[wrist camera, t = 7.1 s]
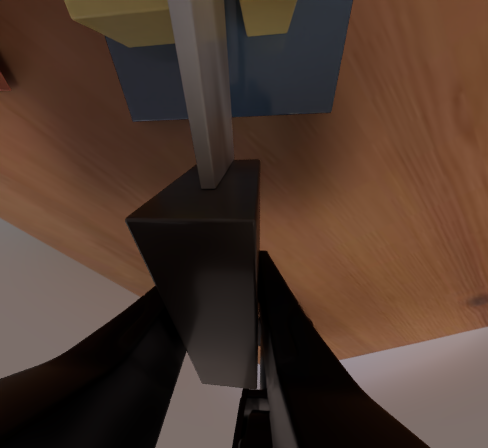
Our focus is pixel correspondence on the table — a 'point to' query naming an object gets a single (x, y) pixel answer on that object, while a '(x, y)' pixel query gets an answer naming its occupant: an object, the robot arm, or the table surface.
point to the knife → (207, 215)
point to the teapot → (3, 84)
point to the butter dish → (247, 66)
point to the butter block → (126, 20)
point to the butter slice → (267, 16)
